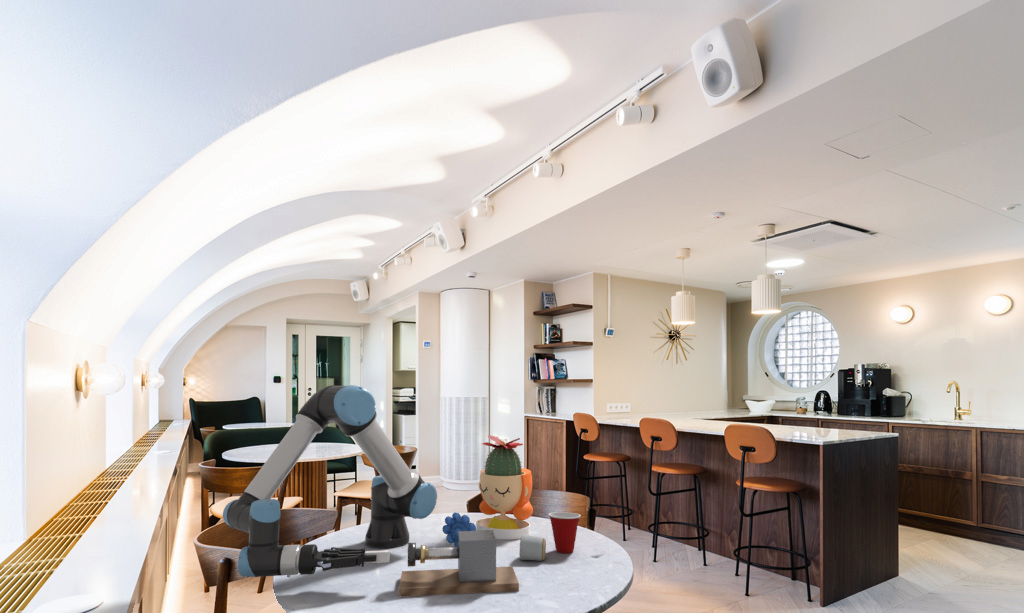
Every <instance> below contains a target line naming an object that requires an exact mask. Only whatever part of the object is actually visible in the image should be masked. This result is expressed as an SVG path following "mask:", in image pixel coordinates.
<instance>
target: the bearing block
mask: <svg viewBox="0 0 1024 613" xmlns="http://www.w3.org/2000/svg"><path fill="white" fill-rule="evenodd" d="M458 547H459V559H457V569H458V576H459V583H477V582H496V567H497V539H496V538H495V535H494V532H493V530H483V531H458Z"/></svg>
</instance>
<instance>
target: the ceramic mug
mask: <svg viewBox="0 0 1024 613" xmlns="http://www.w3.org/2000/svg"><path fill="white" fill-rule="evenodd" d="M519 540H520V542H519V560H520V561H535V562H540V561H544V560H545V557H546V549H547V548H546V547H547V541H546V540H547V539H546V538H544V537H541V536H536V535H530V536H529V535H522V536H521V539H519Z"/></svg>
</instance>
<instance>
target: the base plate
mask: <svg viewBox="0 0 1024 613" xmlns="http://www.w3.org/2000/svg"><path fill="white" fill-rule="evenodd" d="M399 581H400V582H399V586H398V597H399V598H400V597H419V596H420V597H421V596H422V597H423V596H438V595H439V596H440V595H442V596H444V595H445V596H446V595H460V594H461V595H462V594H482V593H483V594H484V593H502V592H503V593H504V592H519V591H520V583H519V580H518V577H517V574H516V572H515V569H514V568H513V566H496V582H477V583H459V576H458V568H448V569H446V568H445V569H442V568H441V569H425V570H424V569H423V570H418V569H417V570H402V571H401V574H400V580H399Z"/></svg>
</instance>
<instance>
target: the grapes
mask: <svg viewBox="0 0 1024 613" xmlns="http://www.w3.org/2000/svg"><path fill="white" fill-rule="evenodd" d="M470 520H471V519H470V517H469V516H468V515H467V514H463V515H462V516H461V514H460V512H456V511H455V512H453V513H452V515H451V516H449V515H448V516H446V517H445V518H444V523H445V524H444V525H443V526H442V533H444V535H446V537H445V540H446V542H447V543H448V544H450V545H452V544H453V547H458V531H476V524H475V523H474V522H471V521H470Z"/></svg>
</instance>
